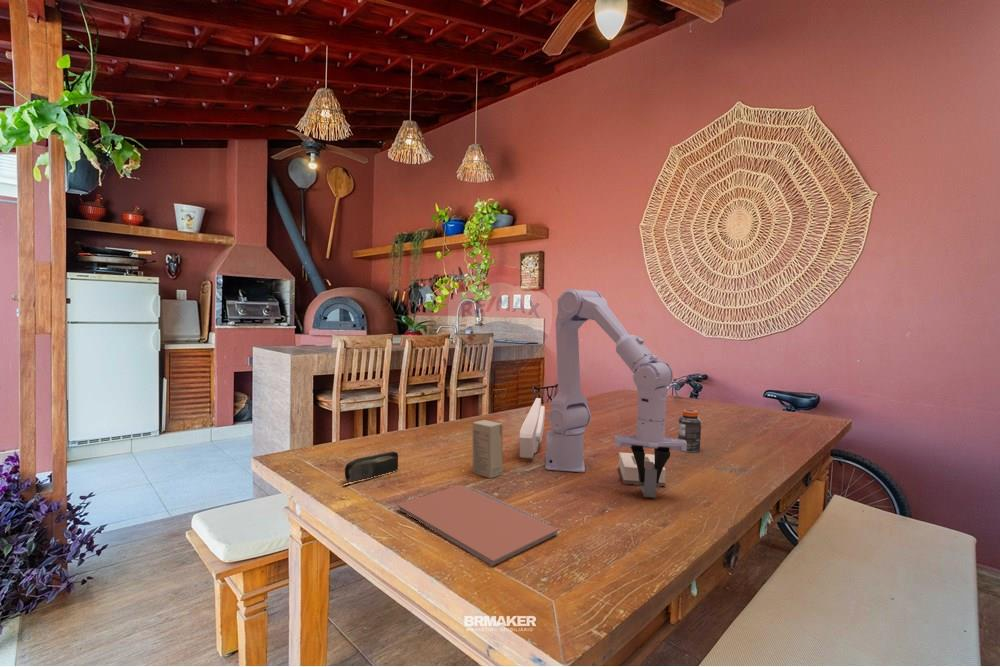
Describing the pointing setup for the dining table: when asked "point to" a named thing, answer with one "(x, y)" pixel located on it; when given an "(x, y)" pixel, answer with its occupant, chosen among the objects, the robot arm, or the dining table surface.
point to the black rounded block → (371, 466)
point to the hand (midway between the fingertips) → (648, 481)
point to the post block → (635, 469)
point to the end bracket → (649, 480)
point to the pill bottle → (690, 430)
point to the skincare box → (487, 448)
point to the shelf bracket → (532, 430)
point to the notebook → (479, 522)
